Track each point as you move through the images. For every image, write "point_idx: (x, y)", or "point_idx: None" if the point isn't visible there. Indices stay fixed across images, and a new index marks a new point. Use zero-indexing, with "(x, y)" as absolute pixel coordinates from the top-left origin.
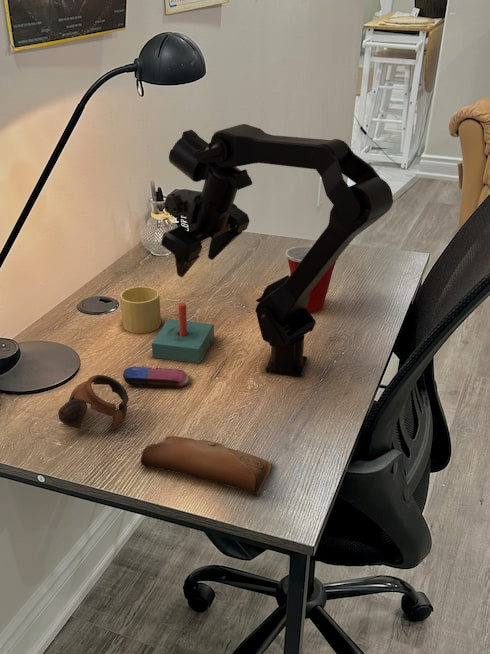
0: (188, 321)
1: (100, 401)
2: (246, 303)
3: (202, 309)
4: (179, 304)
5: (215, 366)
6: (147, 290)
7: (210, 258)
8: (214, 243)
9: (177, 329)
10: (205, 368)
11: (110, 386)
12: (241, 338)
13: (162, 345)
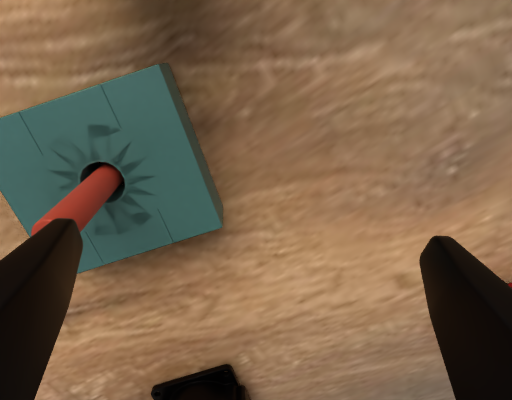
0: (187, 144)
1: None
2: (475, 164)
3: (379, 59)
4: (39, 228)
5: (96, 291)
6: None
7: (426, 252)
8: (506, 377)
9: (110, 148)
10: None
11: None
12: (263, 267)
13: None
